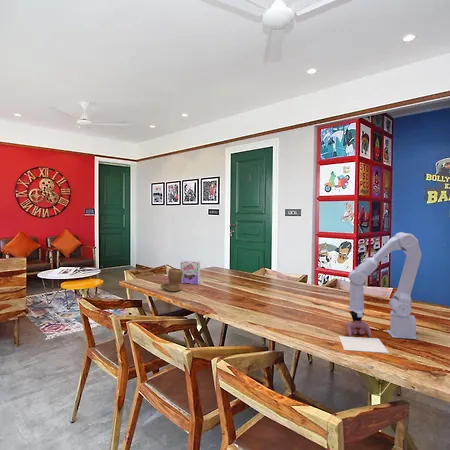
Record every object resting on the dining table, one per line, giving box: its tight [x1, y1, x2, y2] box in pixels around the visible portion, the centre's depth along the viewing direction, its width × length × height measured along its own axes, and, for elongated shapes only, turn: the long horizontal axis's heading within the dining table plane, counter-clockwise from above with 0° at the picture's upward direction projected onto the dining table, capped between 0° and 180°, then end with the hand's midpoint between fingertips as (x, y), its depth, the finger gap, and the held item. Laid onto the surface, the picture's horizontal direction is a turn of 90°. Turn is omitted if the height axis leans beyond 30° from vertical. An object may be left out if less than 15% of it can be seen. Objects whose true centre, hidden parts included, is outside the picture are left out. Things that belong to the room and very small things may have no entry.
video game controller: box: [345, 320, 372, 338], centre depth 142 cm, size 10×5×7 cm, turn 85°
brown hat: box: [160, 267, 183, 292], centre depth 225 cm, size 15×12×15 cm
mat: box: [338, 335, 390, 354], centre depth 132 cm, size 16×14×1 cm
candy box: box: [180, 260, 201, 285], centre depth 246 cm, size 14×6×16 cm, turn 73°
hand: (356, 328), depth 145 cm, fingers closed, pressing on video game controller
